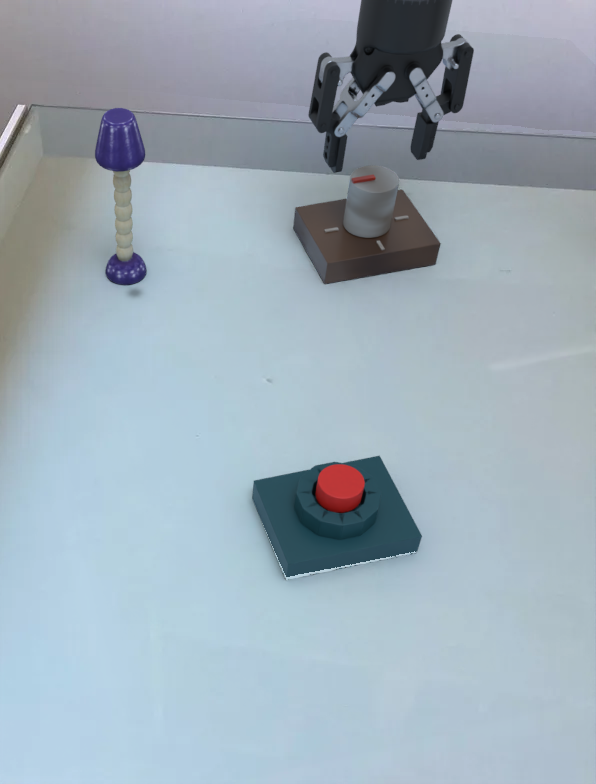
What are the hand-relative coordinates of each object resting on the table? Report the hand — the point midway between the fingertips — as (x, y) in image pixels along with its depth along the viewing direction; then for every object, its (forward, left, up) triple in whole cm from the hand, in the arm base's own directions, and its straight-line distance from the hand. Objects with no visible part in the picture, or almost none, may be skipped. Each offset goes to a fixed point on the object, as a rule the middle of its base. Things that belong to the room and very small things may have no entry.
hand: (376, 161), depth 93 cm
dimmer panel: (0, 0, -9) cm, 9 cm away
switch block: (+16, +35, -9) cm, 40 cm away
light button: (+16, +35, -6) cm, 39 cm away
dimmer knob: (0, 0, -7) cm, 7 cm away
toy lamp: (+25, -2, -10) cm, 27 cm away
